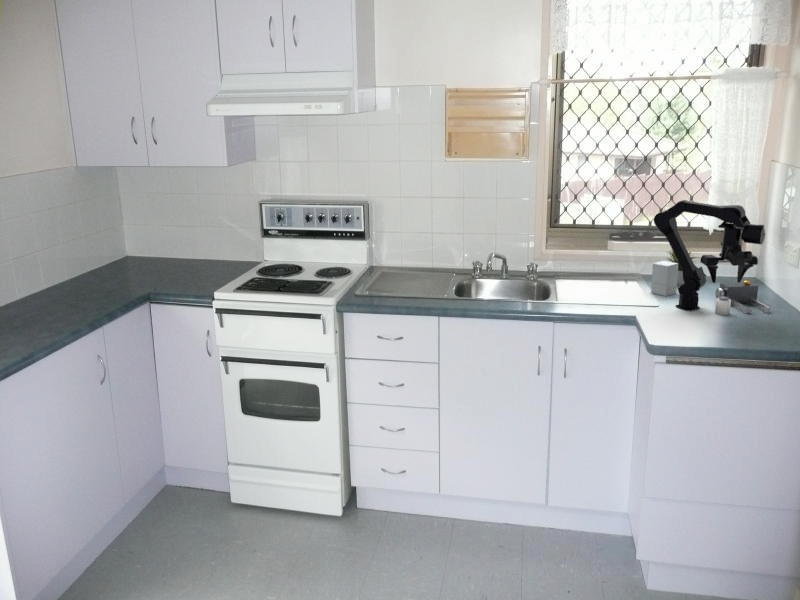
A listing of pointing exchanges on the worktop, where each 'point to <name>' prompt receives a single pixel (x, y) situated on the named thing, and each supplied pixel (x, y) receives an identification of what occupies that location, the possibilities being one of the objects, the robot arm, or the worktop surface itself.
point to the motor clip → (741, 295)
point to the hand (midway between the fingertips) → (726, 282)
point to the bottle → (723, 305)
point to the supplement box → (664, 278)
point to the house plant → (679, 267)
